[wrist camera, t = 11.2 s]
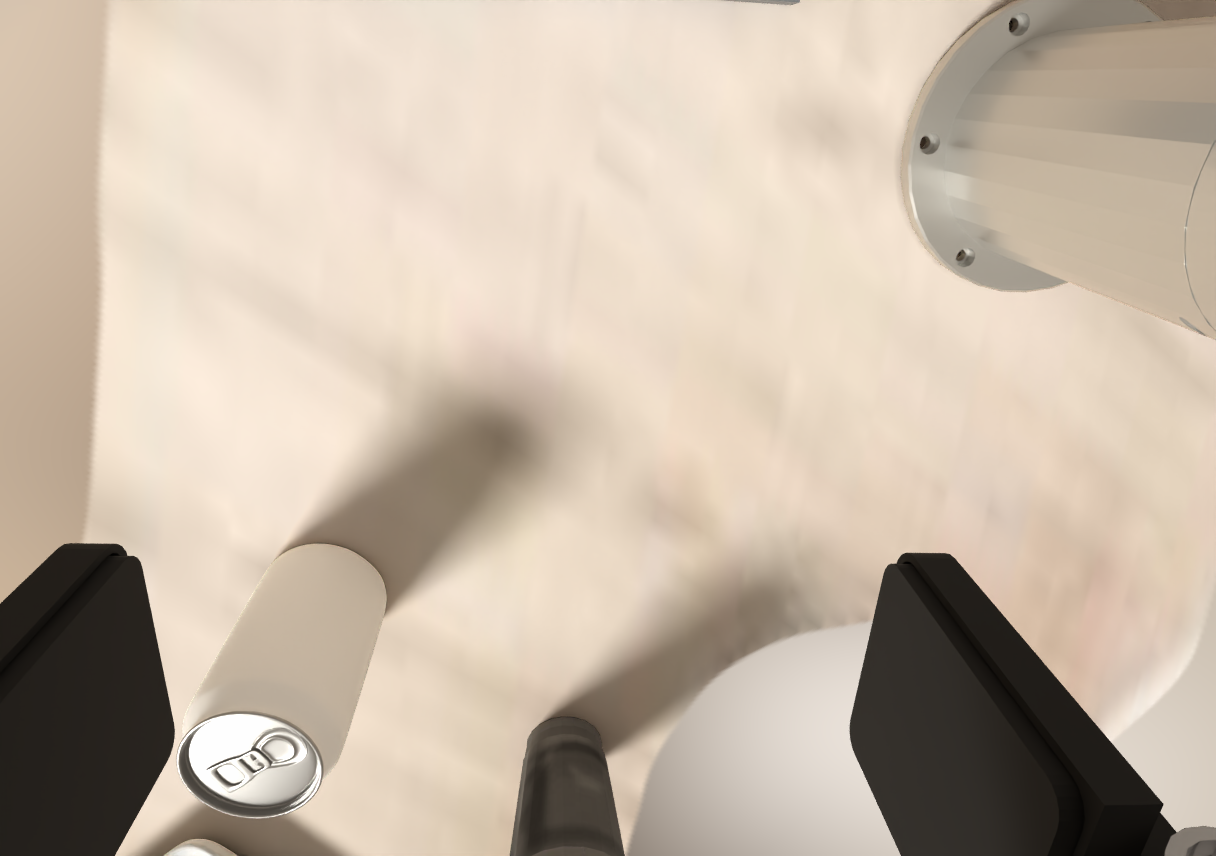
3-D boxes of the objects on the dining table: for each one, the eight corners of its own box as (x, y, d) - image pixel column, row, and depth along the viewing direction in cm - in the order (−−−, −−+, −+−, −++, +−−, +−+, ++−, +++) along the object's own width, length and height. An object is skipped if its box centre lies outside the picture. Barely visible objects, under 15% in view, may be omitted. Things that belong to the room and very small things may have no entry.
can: (413, 605, 44) (367, 784, 33) (316, 658, 44) (240, 848, 34) (338, 517, 41) (261, 678, 30) (237, 575, 42) (127, 751, 31)
